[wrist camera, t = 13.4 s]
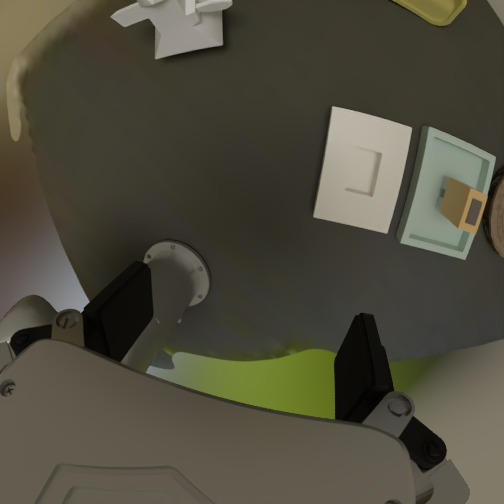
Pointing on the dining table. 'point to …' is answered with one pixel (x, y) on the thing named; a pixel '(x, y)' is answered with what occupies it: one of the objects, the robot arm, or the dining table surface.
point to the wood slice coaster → (495, 213)
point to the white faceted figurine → (178, 23)
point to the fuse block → (361, 169)
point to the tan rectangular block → (461, 204)
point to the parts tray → (441, 191)
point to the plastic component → (435, 9)
